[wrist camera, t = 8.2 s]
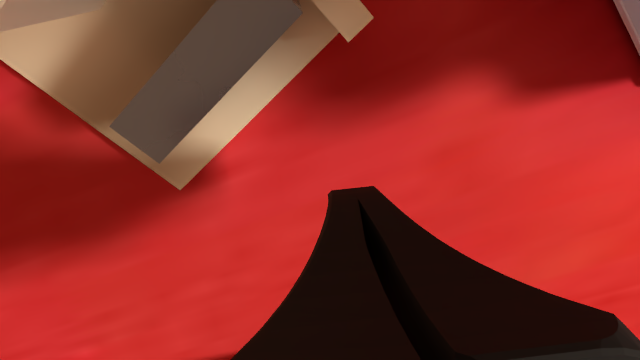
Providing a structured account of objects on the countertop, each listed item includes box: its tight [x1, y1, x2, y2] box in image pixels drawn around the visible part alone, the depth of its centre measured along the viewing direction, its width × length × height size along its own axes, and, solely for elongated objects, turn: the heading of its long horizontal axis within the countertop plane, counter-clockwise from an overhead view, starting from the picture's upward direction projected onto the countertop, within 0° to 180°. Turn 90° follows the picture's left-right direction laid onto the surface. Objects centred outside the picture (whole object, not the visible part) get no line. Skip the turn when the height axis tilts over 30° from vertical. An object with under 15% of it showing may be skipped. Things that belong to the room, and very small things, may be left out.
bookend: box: [109, 0, 303, 164], centre depth 11 cm, size 2×5×4 cm, turn 133°
